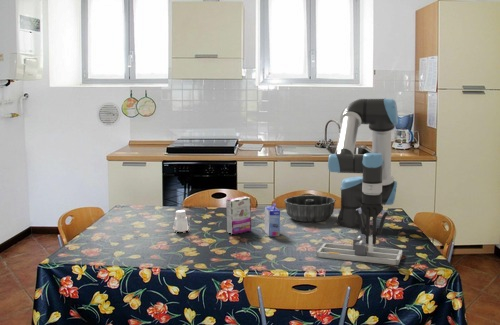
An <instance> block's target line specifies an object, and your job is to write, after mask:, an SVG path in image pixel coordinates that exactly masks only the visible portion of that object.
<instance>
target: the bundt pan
mask: <svg viewBox="0 0 500 325" xmlns="http://www.w3.org/2000/svg"><path fill="white" fill-rule="evenodd" d="M336 201H337V199H335V198H333V197H330V196H327V195H318V194H317V195H314V194H313V195H311V194H310V195H309V194H308V195H295V196H291V197H290V196H289V197H287V198H285V199H284V200H283V202H284V204H285V209H286V213H287V214H286V215H287V216H289V217H290V218H291V219H293V220H295V221H297V222H309V223H312V222H317V223H318V222H319V221H320V222H323V221H325V220H328V219H330V218H331V216H333V213H334V210H335V204H336V203H335V202H336Z"/></svg>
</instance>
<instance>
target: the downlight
mask: <svg viewBox="0 0 500 325" xmlns="http://www.w3.org/2000/svg"><path fill="white" fill-rule="evenodd" d="M173 224H174V225H172V226H173V229H175V230H178V231H184V230H188V229H189V230H190V227H189V226H190V224H191V222H190V221H188V217H187V215H186V210H185V209H179V210H176V211H175V218H174V223H173ZM188 224H189V225H188Z"/></svg>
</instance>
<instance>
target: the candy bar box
mask: <svg viewBox="0 0 500 325" xmlns="http://www.w3.org/2000/svg"><path fill="white" fill-rule="evenodd" d="M225 202H226V208H225V209H226V232H228V233H227V234H229V233H231V234H230V235H232V234H235V235H238V234H237V233H240V234H243V233H242V232H244V233H248V232H247V231H249V232H251V231H252V213H251V212H252V206H251V205H252V204H251V203H252V202H251V197H249V196H240V197H239V196H238V197H235V198H228V199H226V200H225Z"/></svg>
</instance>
